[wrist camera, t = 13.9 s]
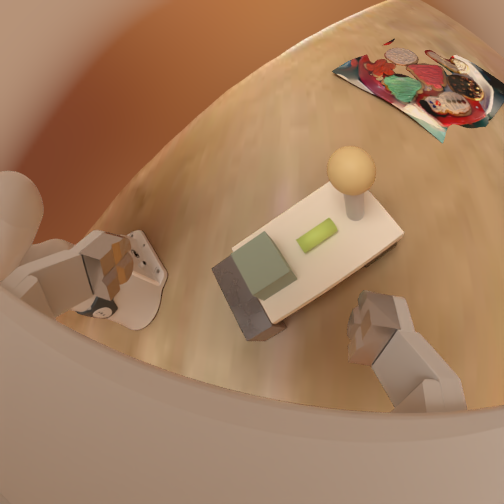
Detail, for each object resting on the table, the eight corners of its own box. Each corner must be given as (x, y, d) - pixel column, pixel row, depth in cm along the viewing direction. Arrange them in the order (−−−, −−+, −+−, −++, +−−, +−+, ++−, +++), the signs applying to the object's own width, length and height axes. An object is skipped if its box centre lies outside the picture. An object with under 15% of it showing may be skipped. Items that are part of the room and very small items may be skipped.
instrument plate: (275, 324, 34) (228, 311, 23) (235, 251, 40) (182, 211, 28) (402, 237, 32) (420, 180, 20) (349, 174, 37) (338, 107, 25)
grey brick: (232, 278, 47) (211, 268, 41) (354, 194, 43) (351, 170, 37) (265, 341, 41) (246, 340, 35) (400, 250, 37) (405, 233, 31)
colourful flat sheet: (459, 159, 37) (461, 153, 35) (332, 77, 53) (331, 71, 52) (511, 93, 33) (512, 88, 31) (407, 33, 49) (407, 28, 48)
